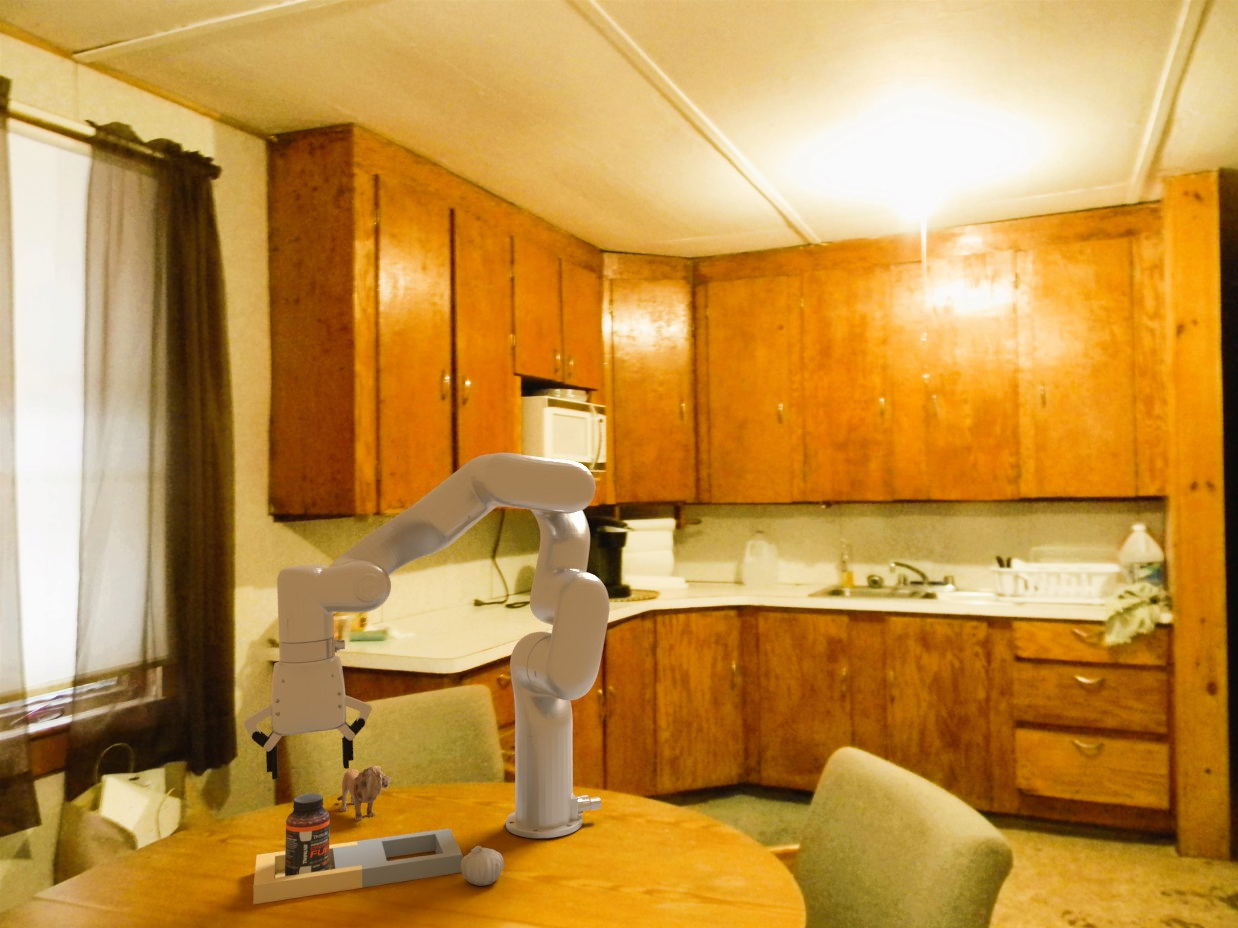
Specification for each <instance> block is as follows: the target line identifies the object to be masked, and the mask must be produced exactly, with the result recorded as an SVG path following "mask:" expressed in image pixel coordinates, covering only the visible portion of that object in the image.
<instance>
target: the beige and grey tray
mask: <svg viewBox="0 0 1238 928" xmlns="http://www.w3.org/2000/svg"><path fill="white" fill-rule="evenodd" d="M434 851H435V854H430V855H423V856H415V857H408V858H407V857H406V858H401V859H395V860H389V861H388V859H387V858H392V857H400V856H408V855H414V854H420V853H428V852H434ZM463 858H464V856H463V852H462V850H461V849H460V846H459V845H458V843H457V840H456V837H455V836H454V834H453V832H452V829H451V828H444V829H443V828H442V829H436V830H427V831H421V832H415V833H408V834H407V833H406V834H399V835H392V836H385V837H377V838H370V839H363V840H355V841H349V842H340V843H334V844H333V843H332V844H329V870H325V871H318V872H311V873H304V874H298V875H291V876H285V850H283V851H282V850H281V851H276V852H268V853H261V854H256V859H255V869H254V878H253V879H254V880H253V897H252V898H253V903H252V904H253V905H257V904H264V903H265V904H266V903H270V902H278V901H283V900H292V899H295V898H304V897H310V896H315V895H323V894H329V893H334V892H335V893H336V892H342V891H348V890H355V889H360V888H361V889H362V888H363V889H364V888H367V887H368V888H370V887H375V886H381V885H387V884H388V885H389V884H394V883H395V884H396V883H400V882H408V881H413V880H420V879H427V878H432V877H434V878H435V877H441V876H447V875H452V874H459V873H462V872H461V867H460V865H461V861H462V859H463Z"/></svg>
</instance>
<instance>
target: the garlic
mask: <svg viewBox="0 0 1238 928" xmlns="http://www.w3.org/2000/svg"><path fill="white" fill-rule="evenodd" d="M502 855H503V854H501V853H500V852H498V851H496V850H495V849H493V848H487V847H482V846H481V845H476V846H475V847H474V848H471V850H470V852H469V853H468V854H466V855H464V856H463V859H462V861H461V865H460V867H461V872H460V873H461V874H462V877H463V878H464V880H466V881H467V882H469V883H470V884H472V885H474V886H480V887H484V886H490V885H491V884H493V883H494V882H496V881H497V880H498V879H499V877H500V876H501V875H502V873H503V869H504V857H503V856H502Z"/></svg>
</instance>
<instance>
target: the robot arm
mask: <svg viewBox="0 0 1238 928" xmlns="http://www.w3.org/2000/svg"><path fill="white" fill-rule="evenodd" d="M596 489H597V488H596V481H595V477H594V475H593V474H592V471H591V470H589V469H588V468H587V466H585V465H584V464H582V463H580V462H577V461H574V460H567V459H560V458H550V457H541V456H535V455H527V454H526V455H525V454H520V453H512V452H497V453H489V454H483V455H482V454H481V455H479V456H476V457H473V458H472V459H470V460H469V461H468V462H466V463H465V464H464V465H463V466H461V467H460V468H459V469H457V470H456V471H455V472H453V473H452V474H451V475H450V476H449V477H447V478H446V479H445V480H443V481H441V483H440V484H439V485H437V486H436V487H434V488H433V489H432V490H431V491H430V492H428V493H427V494H426V495H425V496H423V497H422V498H420V499H419V500H418V501H417V502H416V503H414V504H412V505H410V507H408V508H407V509H405V510H403V511H401V512H400V513H399V514H397V515H395V516H394V517H393V518H392V519H389V520H388V521H387V522H385V523H384V524H382V525H380V526H378V527H377V528H376V529H375V530H373V531H371V532H370V533H368V534H367V535H366V536H364V537H363V538H361V539H360V540H359V541H357V543H355V544H353V546H351V547H350V548H348V549H347V550H346V551H345V552H344V553H341V555H339V556H338V557H337V558H336V559H335V560H334V561H333V562H331V564H330V565H329V566H327V565H323V564H304V565H302V564H301V565H292V566H287V567H284V568H282V569H280V571H279V572H278V574H277V579H276V581H277V582H276V584H277V585H276V587H277V590H276V591H277V615H278V619H277V622H278V624H277V625H278V647H279V648H278V649H279V651H278V653H279V654H278V655H279V658H278V659H279V661H277V662H275V663H274V665H273V670H272V677H271V690H270V691H271V692H270V693H271V694H270V695H271V698H270V703H269V704H268V705H266V706H264V707H263V708H261V709H260V710H258V711H257V712H255V713H252V714H251V715H250V716H248V717H247V718H245V719H244V721H243V727H244V728H245V730H246V731H247V733H248V734H249V735H250V737H251V739H252V741H253V742H255V743H256V744H257V745H259V746H260V747H262V749H263V750H264V751H265V756H266V757H265V758H266V762H265V763H266V773H271V779H272V780H276V779H277V778H278V774H279V766H278V765H279V764H278V763H279V762H278V746H276V744H278V742H279V741H280V740H281V738H282V737H283V736H294V735H301V734H309V733H318V732H324V731H332V730H338V731H339V732H340V734H341V735H343V737H342V738H341V742H342V743H341V745H342V746H341V747H342V766H343V769H345V770H350V762H351V761H354V759H355V758H354V740H355V737H356V736H357V735H358V733H360V731H361V730H362V729H363V728H364V727H365V725H366V723H367V720H368V719H369V716H370V715H371V712H372V710H373V709H372V708H373V707H372V704H370V703H368V702H366V701H362V700H360V699H357V698H355V697H352V696H350V695H346V688H345V687H346V686H345V677H344V671H343V666H342V664H343V663H342V661H341V657H340V656H338V655H336V653H338V651H341V650H345V649H346V641H345V639H342V640H340V639H337V637H335V625H334V623H335V622H334V619H335V618H334V613H368V612H371V611H374V610H376V609H378V608H380V607H381V606H383V605H384V604H385V602H386V601H387V600H388V599H389V596H390V594H391V590H392V581H391V578H390V576H391V575H392V574H393V573H395V572H396V571H398V570H399V569H401V568H403V567H404V566H406V565H408V564H410V563H411V562H413V561H415V560H418V559H420V558H421V559H422V558H423V557H428V556H431V555H434V554H436V553H438V552H440V551H441V552H442V551H443V550H445V549H446V548H448V547H449V546H451V545H452V544H454V543H455V542H456V541H457V540H459V539H460V537H462V536H463V535H464V534H466V533H467V532H468V531H469V530H470V529H471V528H473V527H474V526H475V525H477V523H479V522H480V521H481V520H482V519H483V518H485V517H486V516H487V515H488V514H489V513H490V512H492V511H493V510H494V509H496V508H497V507H509V508H516V509H524V510H525V509H526V510H530V511H531V513H532V514H533V516H534V518H535V519H536V521H537V524H538V528H539V531H540V533H539V534H540V540H539V550H538V555H537V561H536V564H535V565H536V566H535V571H534V575H533V576H534V577H533V581H532V585H531V590H530V594H529V595H530V596H529V606H530V611H531V613H532V614H533V616H534V617H535V618H536V619H537V620H539V621H540V622H543V623H545V624H548V625H551V626H552V629H551V632H546V631H535V632H530V633H529V634H526V635H524V636H523V637H521V639H519V641H518V642H517V643H516V644H515V645H514V647H513V649H512V652H511V656H510V659H509V660H510V662H509V664H510V665H509V670H510V678H511V684H512V685H511V686H512V691H513V697H514V698H513V700H514V715H515V716H514V717H515V719H514V720H515V721H514V722H515V726H514V727H515V728H514V729H515V731H514V747H515V748H514V750H515V751H514V759H515V760H514V761H515V762H514V765H515V766H514V767H515V768H514V769H515V773H514V774H515V777H514V778H515V782H514V783H515V786H514V787H515V788H514V789H515V790H514V792H515V794H514V795H515V796H514V797H515V798H514V800H515V801H514V802H515V803H514V804H515V806H514V807H515V811H513V812H511V813H510V814H508V816H507V817H506V819H505V828H506V829H507V831H508V832H510V833H511V834H513V835H516V836H519V837H523V838H527V839H529V838H530V839H551V838H552V839H553V838H558V837H559V838H560V837H563V836H567V835H570V834H572V833H574V832H577V831H578V830H579V829H580V828H581V827H582V825H583V815H582V814H583V813H584V811H594V810H600V809H601V808H602V799H601V797H600V796H595V797H589V795H588V794H586V795H580V796H576V794H575V793H574V788H573V787H574V784H573V782H574V781H573V780H574V779H573V774H574V773H573V771H574V769H573V764H574V763H573V760H574V759H573V729H574V728H573V727H574V725H573V719H574V718H573V711H572V702H571V701H575V700H579V699H581V698H582V697H584V696H585V695H587V693H588V692H589V691H590V690H591V689H592V688H593V686H594V684H595V682H596V679H597V677H598V674H599V670H600V666H601V661H602V656H603V651H604V644H605V640H606V634H607V629H608V628H607V627H608V622H609V616H610V598H609V593H608V590H607V587H606V585H604V583H603V582H602V580H601V579H600V578H599V577H597V576H596V575H595V574H592V573H590V572H587V570H588V564H589V563H588V562H589V556H590V555H589V553H590V547H591V532H590V527H589V523H588V520H587V517H586V515H585V513H584V511H583V510H585V509H587V508H588V506H589V505H590V504H591V503H592V502H593V500H594V497H595V494H596ZM347 707H348V708H349V709H353V710H354V711H355V710H356V711H358V712H359V713H358V716H357V718H356V719H355V720H354V721H353V722H352V724H349V723H348V722H347ZM269 717H270V721H271V729H272V730H271V732H269V734H268V735H267V734H265V733H264V732H263V731H261V730H260V728H259V726H258V724H259V723H260V722H262V721H264V720H265V719H267V718H269Z"/></svg>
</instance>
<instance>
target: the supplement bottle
mask: <svg viewBox="0 0 1238 928" xmlns="http://www.w3.org/2000/svg"><path fill="white" fill-rule="evenodd" d="M292 805H293V806H292V807H293V808H292V809H293V810H292V812H291V813H289V814H288V816H287V817H286V821H285V847H284V849H285V850H284V851H285V876H291V875H298V874H304V873H311V872H318V871H325V870H329V845H330V827H331V826H330V824H331V823H330V818H331V816H330V813H329V812H328V810H326V809H325V808H324V795H322V794H319V793H306V794H301V795H298V796H296V797H294V798H293V804H292Z"/></svg>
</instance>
